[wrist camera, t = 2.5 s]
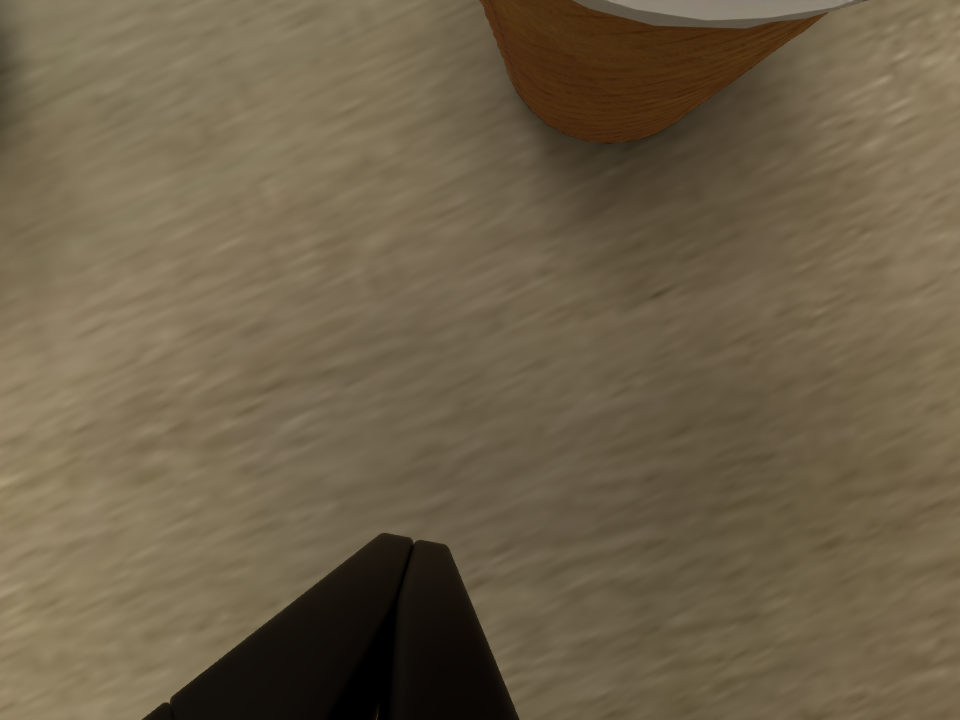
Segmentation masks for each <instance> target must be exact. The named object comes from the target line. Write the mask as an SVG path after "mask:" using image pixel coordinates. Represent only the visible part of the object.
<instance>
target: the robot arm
mask: <svg viewBox="0 0 960 720" xmlns="http://www.w3.org/2000/svg"><path fill="white" fill-rule="evenodd" d="M377 715H378V716H377ZM376 718H377V720H519V717H518V715H517V712H516V710H515V707H514V705H513V703H512V700H511V698H510V695H509V693H508V690H507V688H506V686H505V683H504V681H503V678H502V676H501V673H500V671H499V668H498V666H497V664H496V661H495V659H494V656H493V654H492V651H491V649H490V647H489V644H488V642H487V639H486V637H485V634H484V632H483V630H482V627H481V625H480V622H479V620H478V617H477V615H476V613H475V610H474V608H473V605H472V603H471V600H470V598H469V596H468V593H467V591H466V588H465V586H464V583H463V581H462V579H461V576H460V574H459V571H458V569H457V566H456V564H455V561H454V559H453V557H452V554H451V552H450V550H449V548H448V546H446V545H445V544H440V543H435V542H430V541H425V540H418V541H416V542H415V543H414V542H413V540H412V539H411V538H409V537H404V536H399V535H394V534H389V533H382V534H380V535H378V536H377V537H376V538H374V539H373V540H372V541H370V542H369V543H368V544H367V545H365V546H364V547H363V548H361V549H360V550H359V551H358V552H356V553H355V554H354V555H353V556H351V557H350V558H349V559H347V560H346V561H345V562H344V563H342V564H341V565H340V566H338V567H337V568H336V569H335V570H333V571H332V572H331V573H329V574H328V575H327V576H326V577H324V578H323V579H322V580H320V581H319V582H318V583H317V584H315V585H314V586H313V587H312V588H310V589H309V590H308V591H306V592H305V593H304V594H303V595H301V596H300V597H299V598H297V599H296V600H295V601H294V602H292V603H291V604H290V605H288V606H287V607H286V608H285V609H283V610H282V611H281V612H280V613H278V614H277V615H276V616H274V617H273V618H272V619H271V620H269V621H268V622H267V623H265V624H264V625H263V626H262V627H260V628H259V629H258V630H256V631H255V632H254V633H253V634H251V635H250V636H249V637H247V638H246V639H245V640H244V641H242V642H241V643H240V644H239V645H237V646H236V647H235V648H233V649H232V650H231V651H230V652H228V653H227V654H226V655H224V656H223V657H222V658H221V659H219V660H218V661H217V662H215V663H214V664H213V665H212V666H210V667H209V668H208V669H207V670H205V671H204V672H203V673H201V674H200V675H199V676H198V677H196V678H195V679H194V680H192V681H191V682H190V683H189V684H187V685H186V686H185V687H183V688H182V689H181V690H180V691H178V692H177V693H176V694H174V695H173V696H172V697H171V699H170V704H169V703H167V702H165V703H162V704H161V705H160V706H159V707H157V708H156V709H155V710H153V711H152V712H151V713H150V714H148V715H147V716H146V717H144V718H143V719H142V720H376Z"/></svg>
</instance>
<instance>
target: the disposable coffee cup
mask: <svg viewBox="0 0 960 720" xmlns="http://www.w3.org/2000/svg"><path fill="white" fill-rule="evenodd" d="M480 1H481V3H482V5H483V7H484V10H485V15H486V17H487V19H488V21H489V24H490V26H491V28H492V30H493V34H494V37H495V39H496V41H497V44H498V47H499V49H500V52H501V55H502V57H503V59H504V62H505V65H506V68H507V72H508V75H509V77H510V79H511V81H512V83H513V85H514V87H515V89H516V91H517V93H518V94H519V95H520V96H521V98H522V99H523V100H524V101H525V102H526V104H527V105H528V106H529V107H530V109H531V110H532V111H533V112H534V113H535V114H536V115H537V116H538V117H540V118H541V119H542V120H543V121H544V122H546V123H547V124H548V125H550V126H552V127H554V128H555V129H557V130H559V131H561V132H563V133H564V134H566V135H569V136H572V137H576V138H579V139H582V140H585V141H591V142H600V143H616V142H625V141H633V140H638V139H641V138H644V137H648V136H651V135H654V134H655V133H657V132H659V131H661V130H663V129H665V128H667V127H668V126H670V125H672V124H674V123H675V122H677V121H678V120H679V119H680V118H682V117H683V116H684V115H685V114H687V113H688V112H690V111H691V110H692V109H694V108H695V107H697V106H699V105H700V104H701V103H703V102H704V101H705V100H707V99H709V98H710V97H711V96H712V95H714V94H715V93H717V92H718V91H720V90H721V89H722V88H724V87H726V86H727V85H729V84H730V83H732V82H733V81H734V80H735V79H737V78H738V77H740V76H741V75H742V74H744V73H745V72H746V71H748V70H749V69H751V68H752V67H753V66H755V65H756V64H757V63H759V62H760V61H761V60H762V59H764V58H765V57H767V56H768V55H770V54H771V53H772V52H774V51H775V50H777V49H778V48H780V47H781V46H782V45H784V44H785V43H786V42H788V41H790V40H791V39H793V38H794V37H796V36H797V35H799V34H801V33H802V32H804V31H805V30H806V29H807V28H809V27H810V26H811V25H812V24H814V23H815V22H816V21H817V20H819V19H820V18H821V17H823V16H824V15H826V14H827V13H828V12H830V11H833V10H836V9H840V8H843V7H847V6H850V5H853V4H857V3H860V2H864V1H867V0H480Z"/></svg>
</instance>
